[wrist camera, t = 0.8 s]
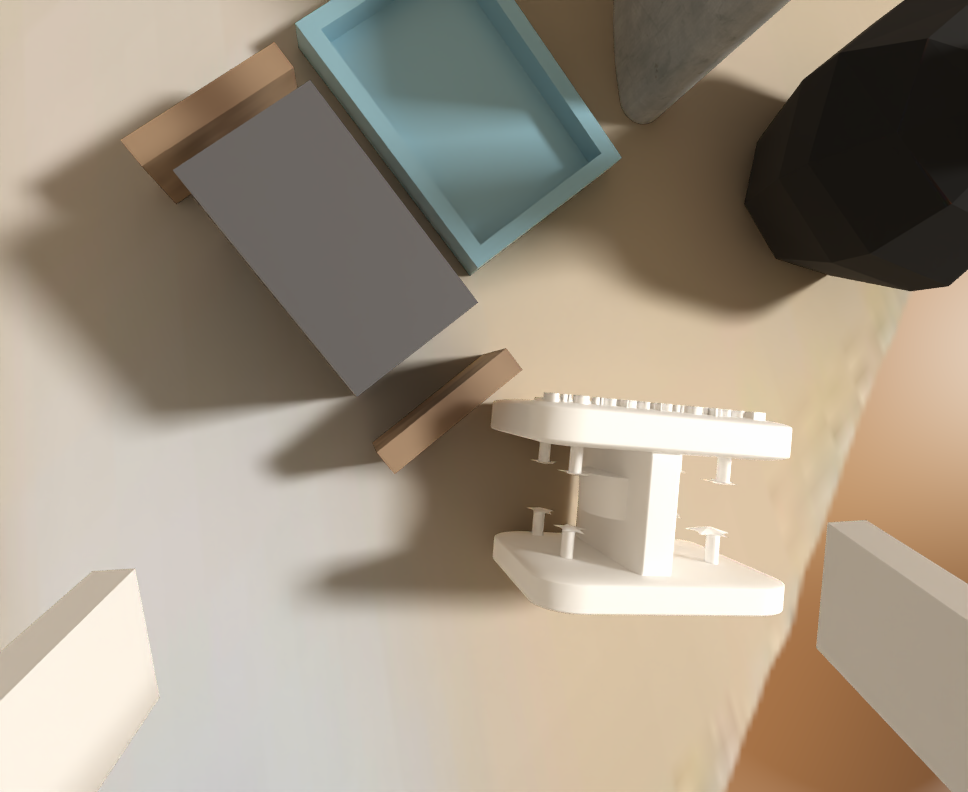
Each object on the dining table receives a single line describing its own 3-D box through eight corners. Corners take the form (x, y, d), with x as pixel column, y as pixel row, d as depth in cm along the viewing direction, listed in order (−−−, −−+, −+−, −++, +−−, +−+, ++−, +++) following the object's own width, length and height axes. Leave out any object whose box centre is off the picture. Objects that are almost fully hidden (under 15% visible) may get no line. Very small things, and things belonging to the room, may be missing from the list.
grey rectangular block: (354, 395, 37) (357, 396, 27) (225, 236, 36) (172, 170, 25) (441, 327, 38) (478, 302, 28) (321, 170, 37) (309, 79, 26)
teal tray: (469, 275, 39) (478, 268, 36) (298, 47, 36) (294, 23, 34) (605, 171, 41) (621, 157, 38) (452, -51, 38) (459, -81, 36)
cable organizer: (471, 552, 39) (521, 619, 28) (485, 391, 39) (542, 391, 28) (678, 559, 42) (800, 621, 31) (691, 410, 42) (816, 417, 31)
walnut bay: (387, 461, 38) (394, 474, 32) (158, 182, 35) (120, 140, 29) (496, 372, 39) (522, 369, 33) (286, 98, 36) (274, 41, 30)
